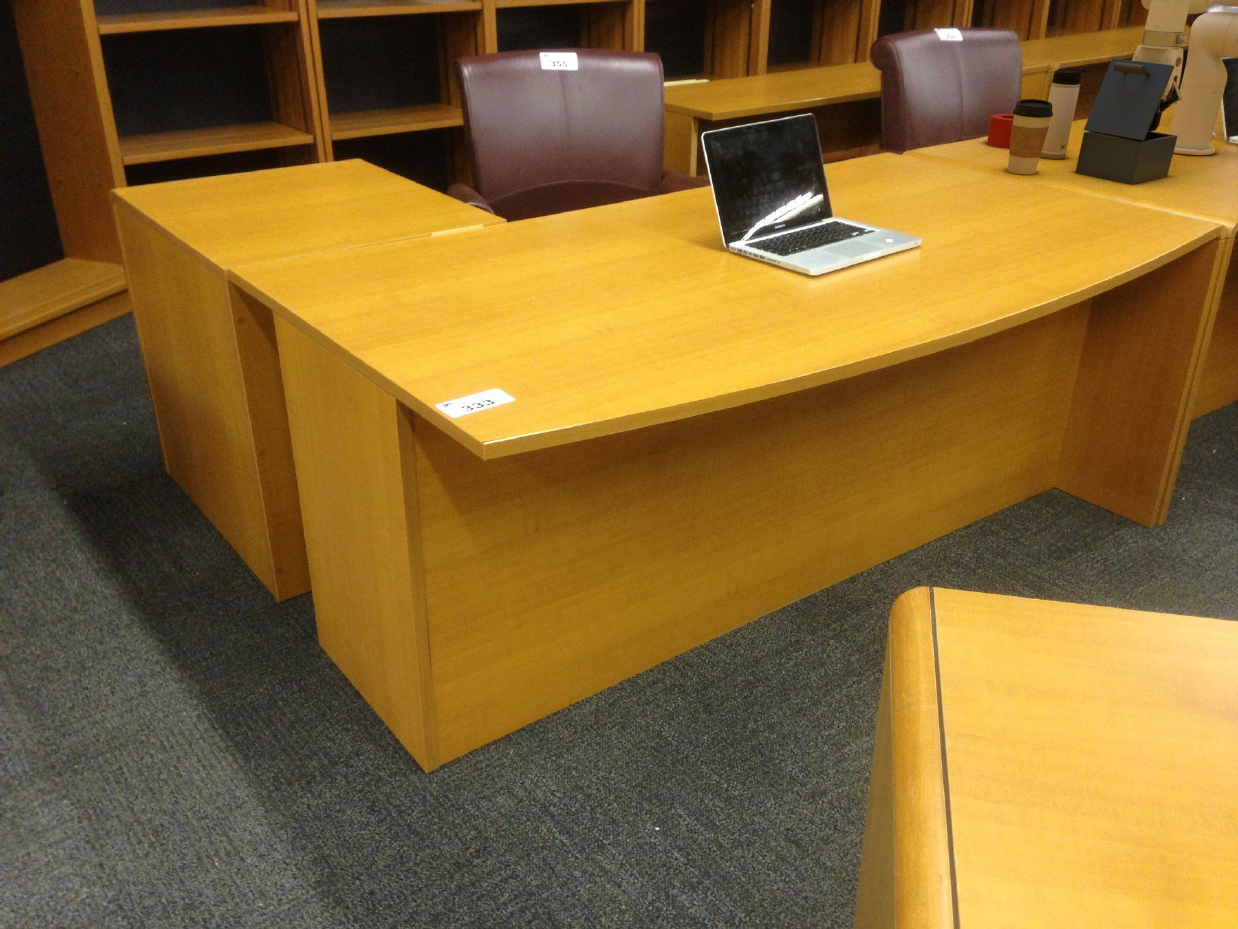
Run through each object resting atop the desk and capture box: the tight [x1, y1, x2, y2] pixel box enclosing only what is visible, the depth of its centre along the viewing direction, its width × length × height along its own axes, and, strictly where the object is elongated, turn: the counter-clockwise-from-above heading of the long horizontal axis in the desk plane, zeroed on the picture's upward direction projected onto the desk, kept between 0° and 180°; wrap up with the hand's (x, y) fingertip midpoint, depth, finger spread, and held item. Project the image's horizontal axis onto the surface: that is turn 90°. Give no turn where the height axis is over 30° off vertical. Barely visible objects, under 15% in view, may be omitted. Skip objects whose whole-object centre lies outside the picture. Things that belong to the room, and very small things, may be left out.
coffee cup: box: [1007, 98, 1053, 176], centre depth 231 cm, size 8×8×15 cm
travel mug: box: [1040, 67, 1086, 160], centre depth 246 cm, size 6×7×20 cm
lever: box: [986, 113, 1014, 149], centre depth 259 cm, size 18×9×7 cm, turn 59°
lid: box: [1083, 57, 1175, 141], centre depth 222 cm, size 15×14×6 cm
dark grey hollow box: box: [1075, 131, 1178, 185], centre depth 232 cm, size 15×14×9 cm
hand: (1140, 127), depth 232 cm, fingers closed on block, 4 cm apart
